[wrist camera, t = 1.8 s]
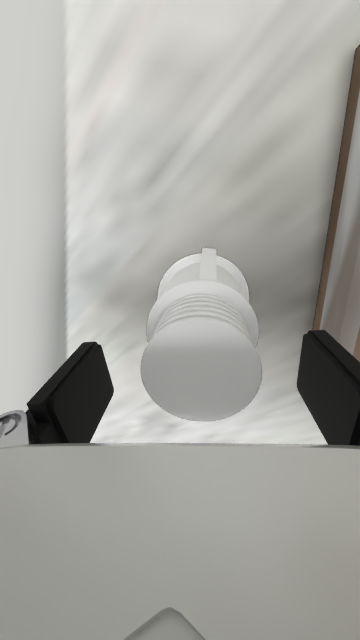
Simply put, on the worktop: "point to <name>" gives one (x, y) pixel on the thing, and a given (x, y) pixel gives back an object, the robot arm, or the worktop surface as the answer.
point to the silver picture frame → (344, 236)
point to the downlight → (202, 340)
